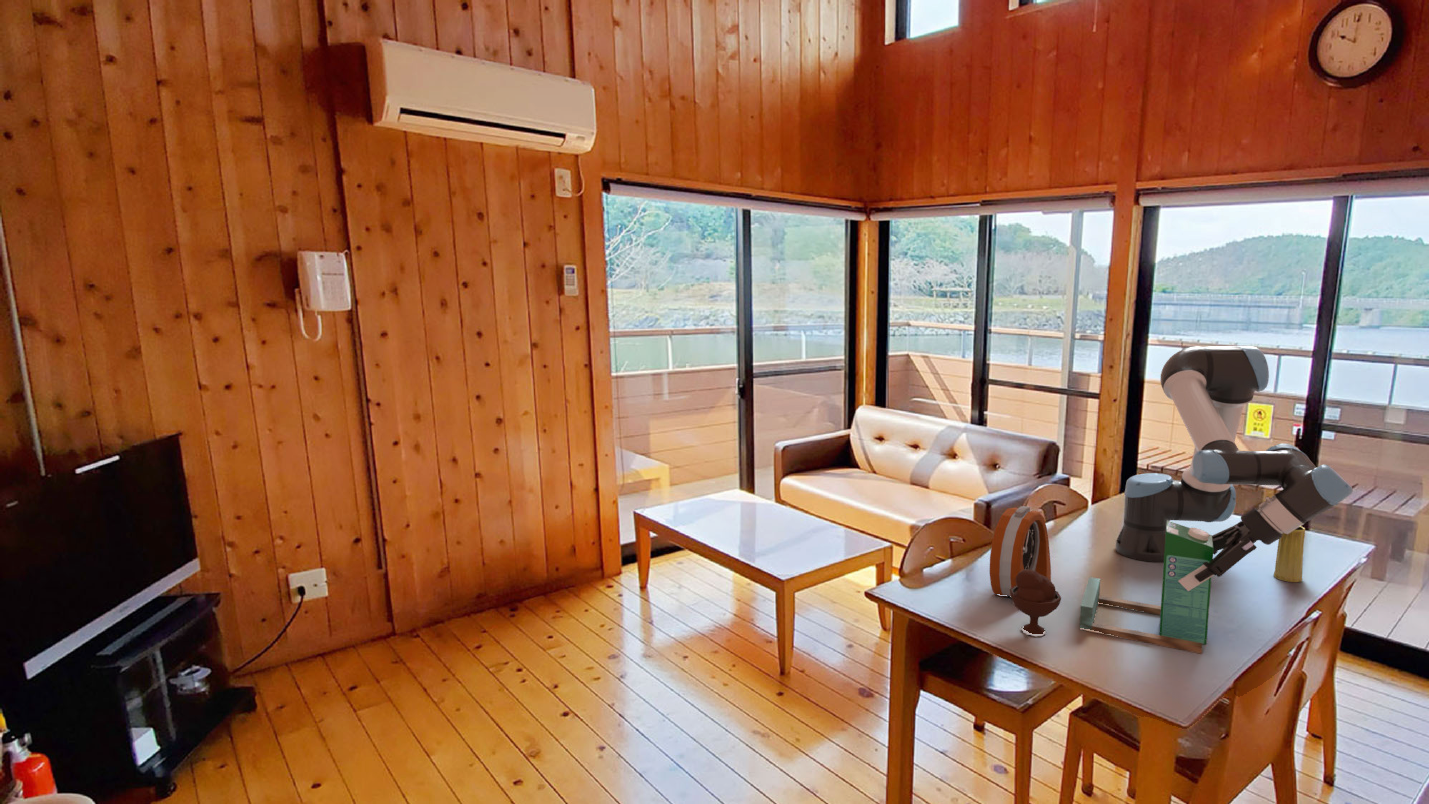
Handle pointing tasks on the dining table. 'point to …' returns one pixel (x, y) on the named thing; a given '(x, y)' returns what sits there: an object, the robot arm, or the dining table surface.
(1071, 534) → the dining table surface
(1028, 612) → the ice cream bowl
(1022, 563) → the alarm clock
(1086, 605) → the track
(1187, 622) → the milk carton
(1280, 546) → the vase
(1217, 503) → the robot arm
